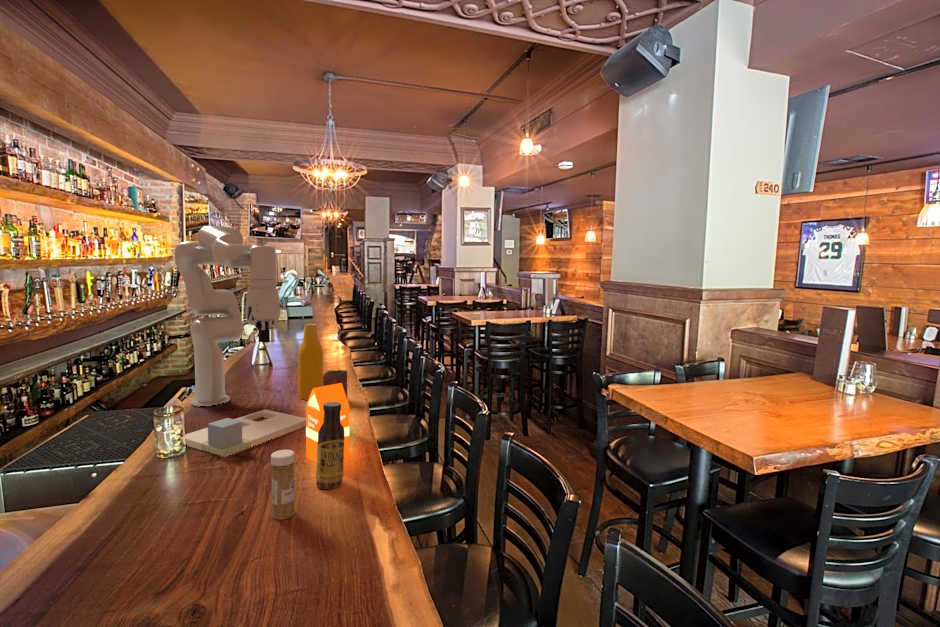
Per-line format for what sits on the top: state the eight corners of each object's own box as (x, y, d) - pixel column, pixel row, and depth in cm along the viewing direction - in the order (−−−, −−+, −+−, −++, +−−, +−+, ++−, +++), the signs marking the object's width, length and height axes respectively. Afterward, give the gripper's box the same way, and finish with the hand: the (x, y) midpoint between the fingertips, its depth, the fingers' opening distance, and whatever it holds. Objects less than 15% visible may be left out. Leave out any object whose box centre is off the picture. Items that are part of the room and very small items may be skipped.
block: (208, 444, 128) (207, 423, 127) (228, 438, 133) (227, 417, 132) (222, 449, 125) (222, 427, 124) (242, 441, 130) (241, 421, 130)
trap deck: (178, 443, 133) (178, 436, 133) (265, 414, 160) (265, 409, 159) (225, 457, 124) (225, 450, 124) (308, 424, 151) (308, 419, 151)
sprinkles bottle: (293, 519, 95) (292, 456, 94) (269, 521, 94) (268, 458, 93) (296, 508, 100) (295, 448, 98) (273, 510, 99) (273, 449, 97)
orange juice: (349, 456, 127) (349, 385, 125) (320, 465, 121) (320, 391, 119) (334, 448, 133) (334, 380, 131) (305, 456, 126) (305, 385, 124)
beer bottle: (328, 396, 184) (328, 324, 181) (308, 401, 176) (308, 326, 173) (312, 392, 189) (312, 322, 186) (293, 397, 181) (292, 324, 178)
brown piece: (340, 439, 139) (340, 374, 137) (318, 437, 141) (317, 372, 139) (351, 431, 147) (352, 369, 145) (330, 428, 148) (330, 367, 146)
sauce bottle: (318, 493, 107) (318, 409, 105) (314, 481, 112) (313, 401, 110) (347, 487, 110) (347, 405, 108) (341, 476, 115) (341, 398, 113)
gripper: (274, 283, 155) (274, 337, 157) (234, 284, 142) (235, 343, 144) (290, 284, 152) (290, 339, 154) (251, 285, 138) (252, 346, 140)
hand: (264, 341), depth 149 cm, fingers closed
